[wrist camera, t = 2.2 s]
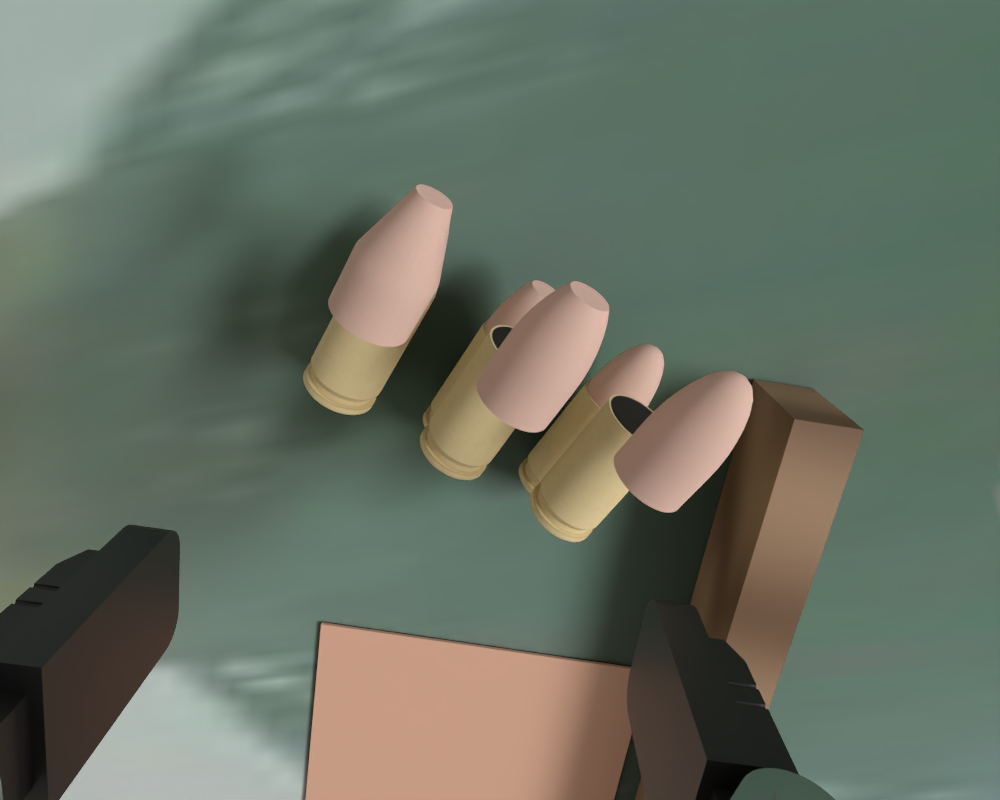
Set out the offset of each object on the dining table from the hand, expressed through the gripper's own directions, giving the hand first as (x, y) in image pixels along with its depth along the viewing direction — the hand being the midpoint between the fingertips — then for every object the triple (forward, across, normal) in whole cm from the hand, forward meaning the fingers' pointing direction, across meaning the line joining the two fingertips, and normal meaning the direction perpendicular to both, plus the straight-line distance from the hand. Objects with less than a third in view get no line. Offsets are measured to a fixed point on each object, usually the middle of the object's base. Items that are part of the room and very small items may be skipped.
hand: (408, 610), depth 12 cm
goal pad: (+8, -2, +10) cm, 13 cm away
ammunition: (+8, -1, -2) cm, 9 cm away
